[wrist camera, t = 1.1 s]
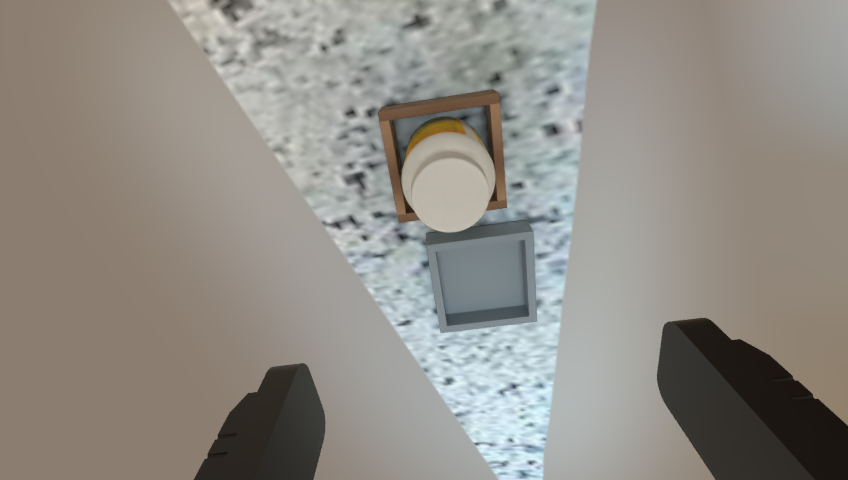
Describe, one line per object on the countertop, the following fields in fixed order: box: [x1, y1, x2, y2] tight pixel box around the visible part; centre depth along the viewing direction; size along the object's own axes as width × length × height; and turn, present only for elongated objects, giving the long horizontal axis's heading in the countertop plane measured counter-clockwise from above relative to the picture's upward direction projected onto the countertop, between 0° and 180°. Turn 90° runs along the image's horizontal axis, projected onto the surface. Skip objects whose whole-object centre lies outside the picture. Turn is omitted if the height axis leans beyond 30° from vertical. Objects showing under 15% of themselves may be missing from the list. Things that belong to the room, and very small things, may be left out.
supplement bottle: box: [401, 117, 496, 232], centre depth 25 cm, size 5×5×10 cm
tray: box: [426, 220, 537, 333], centre depth 32 cm, size 8×8×2 cm
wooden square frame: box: [378, 90, 507, 223], centre depth 28 cm, size 8×8×2 cm
